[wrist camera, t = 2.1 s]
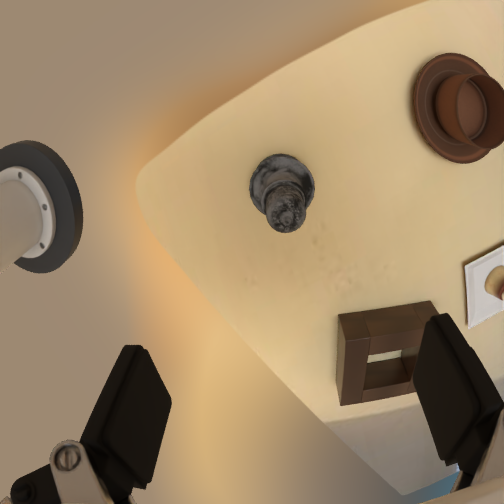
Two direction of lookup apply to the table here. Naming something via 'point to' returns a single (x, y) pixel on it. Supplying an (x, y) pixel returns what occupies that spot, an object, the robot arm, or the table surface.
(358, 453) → the table surface
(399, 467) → the table surface
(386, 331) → the holder
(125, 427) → the robot arm
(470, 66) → the cup and saucer
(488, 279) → the dessert
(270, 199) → the chess piece
